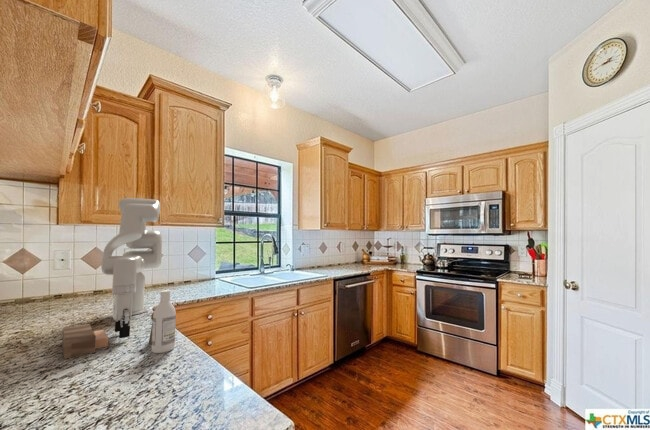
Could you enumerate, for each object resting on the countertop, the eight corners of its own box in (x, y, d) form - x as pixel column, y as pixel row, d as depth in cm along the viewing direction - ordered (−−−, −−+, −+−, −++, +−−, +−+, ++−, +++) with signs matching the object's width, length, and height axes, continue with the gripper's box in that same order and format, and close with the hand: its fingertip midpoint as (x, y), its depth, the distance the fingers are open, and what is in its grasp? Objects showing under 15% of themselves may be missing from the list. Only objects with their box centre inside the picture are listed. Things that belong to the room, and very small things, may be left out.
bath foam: (178, 345, 100) (180, 288, 101) (167, 353, 93) (170, 292, 95) (158, 345, 100) (161, 289, 101) (146, 353, 93) (149, 292, 94)
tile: (67, 345, 101) (68, 336, 101) (102, 338, 108) (103, 329, 109) (70, 355, 93) (70, 344, 93) (107, 347, 100) (108, 337, 100)
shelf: (61, 343, 103) (62, 328, 103) (88, 337, 108) (89, 323, 108) (64, 358, 89) (65, 341, 90) (94, 351, 95) (95, 335, 95)
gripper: (109, 287, 113) (106, 331, 111) (116, 293, 100) (113, 342, 99) (131, 285, 118) (129, 326, 117) (140, 290, 106) (138, 337, 104)
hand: (122, 334), depth 108 cm, fingers open, 9 cm apart
